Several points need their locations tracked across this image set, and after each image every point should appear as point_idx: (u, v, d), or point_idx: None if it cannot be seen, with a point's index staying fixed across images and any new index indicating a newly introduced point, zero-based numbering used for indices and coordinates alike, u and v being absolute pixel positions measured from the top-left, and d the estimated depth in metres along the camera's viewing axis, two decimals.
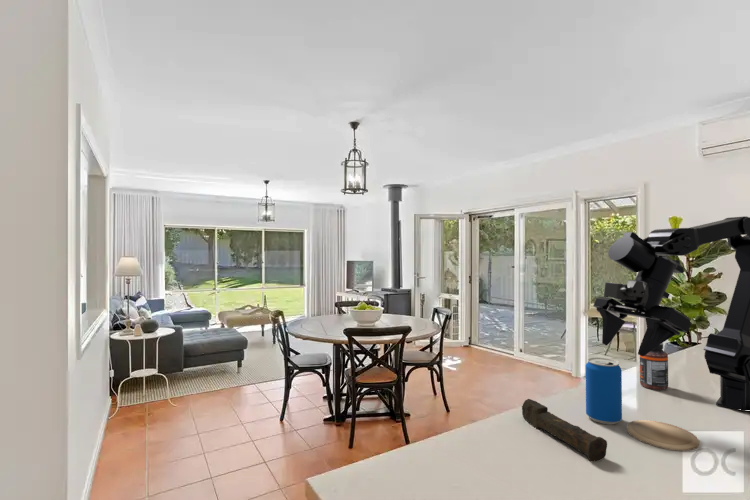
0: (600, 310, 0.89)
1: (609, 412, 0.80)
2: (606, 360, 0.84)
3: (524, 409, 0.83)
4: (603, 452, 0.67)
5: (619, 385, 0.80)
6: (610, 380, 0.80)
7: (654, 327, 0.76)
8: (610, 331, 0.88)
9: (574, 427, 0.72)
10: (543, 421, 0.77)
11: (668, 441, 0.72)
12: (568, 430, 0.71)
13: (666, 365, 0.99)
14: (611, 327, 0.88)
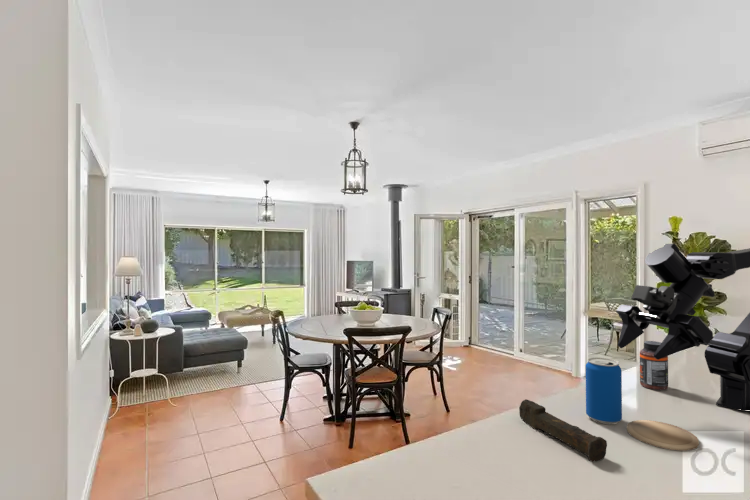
0: (622, 315, 0.91)
1: (609, 412, 0.80)
2: (606, 360, 0.84)
3: (521, 410, 0.82)
4: (603, 452, 0.67)
5: (619, 385, 0.80)
6: (610, 380, 0.80)
7: (676, 332, 0.78)
8: (628, 336, 0.89)
9: (573, 427, 0.71)
10: (541, 422, 0.77)
11: (668, 441, 0.72)
12: (567, 430, 0.71)
13: (666, 365, 0.99)
14: (629, 333, 0.89)
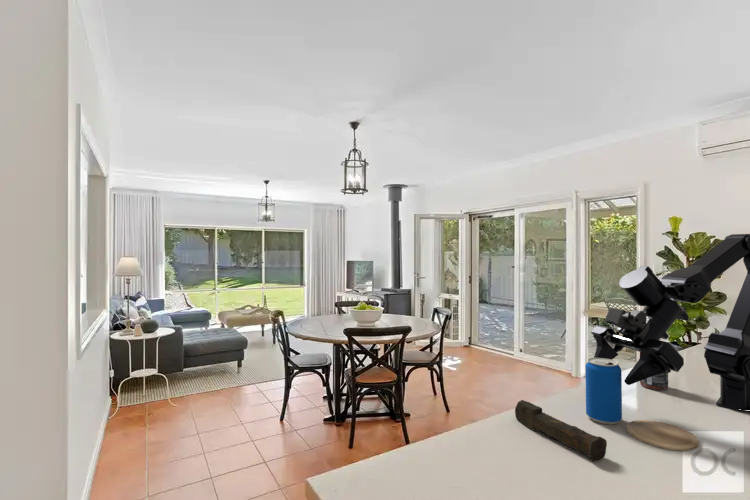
0: (597, 336, 0.90)
1: (609, 412, 0.80)
2: (606, 360, 0.84)
3: (518, 411, 0.82)
4: (604, 451, 0.67)
5: (619, 385, 0.80)
6: (610, 380, 0.80)
7: (647, 358, 0.77)
8: None
9: (572, 427, 0.71)
10: (539, 423, 0.76)
11: (668, 441, 0.72)
12: (567, 431, 0.71)
13: None
14: (603, 355, 0.88)
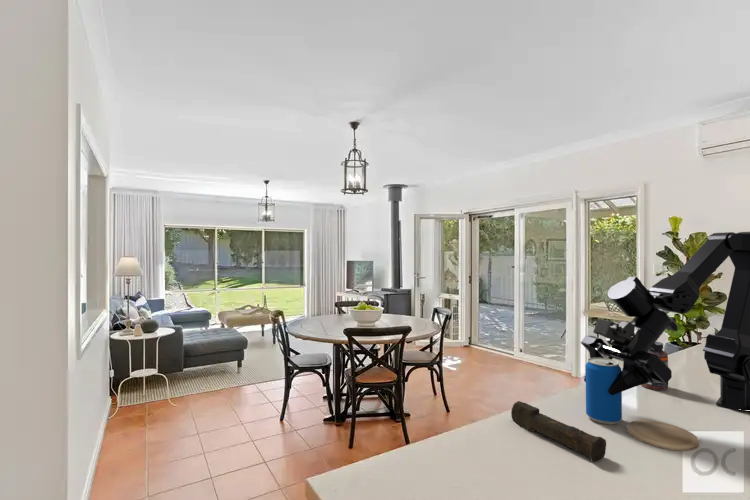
0: (590, 348, 0.88)
1: (609, 412, 0.80)
2: (606, 360, 0.84)
3: (514, 412, 0.81)
4: (604, 451, 0.67)
5: None
6: (610, 380, 0.80)
7: (630, 369, 0.78)
8: None
9: (571, 428, 0.71)
10: (537, 424, 0.76)
11: (668, 441, 0.72)
12: (566, 431, 0.71)
13: None
14: None
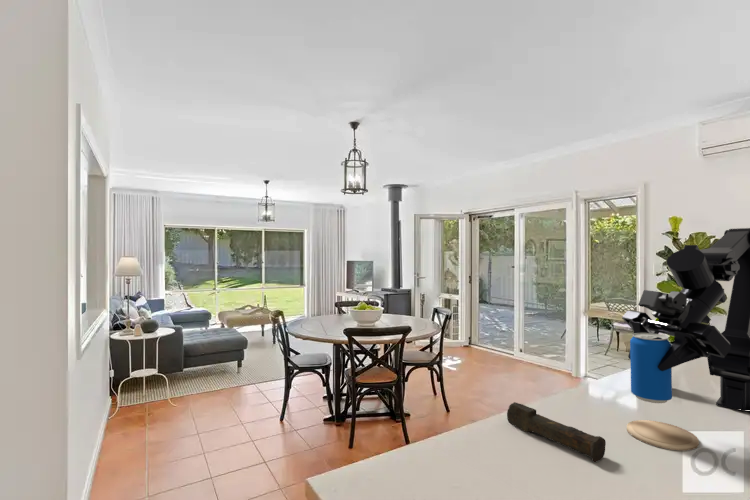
0: (634, 323, 0.82)
1: (659, 390, 0.73)
2: (653, 335, 0.78)
3: (511, 413, 0.81)
4: (603, 451, 0.67)
5: None
6: (659, 355, 0.73)
7: (682, 342, 0.71)
8: None
9: (571, 428, 0.71)
10: (535, 425, 0.76)
11: (668, 441, 0.72)
12: (566, 432, 0.71)
13: None
14: None
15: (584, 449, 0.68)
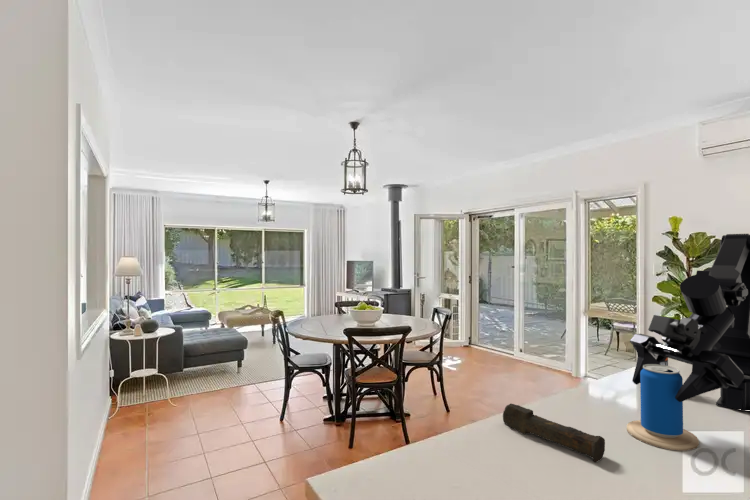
0: (637, 346, 0.82)
1: (670, 425, 0.72)
2: (663, 367, 0.77)
3: (507, 415, 0.80)
4: (603, 450, 0.67)
5: None
6: (671, 389, 0.72)
7: (701, 372, 0.69)
8: None
9: (570, 429, 0.71)
10: (533, 426, 0.75)
11: (668, 441, 0.72)
12: (565, 432, 0.70)
13: (666, 365, 0.99)
14: None
15: (585, 449, 0.68)
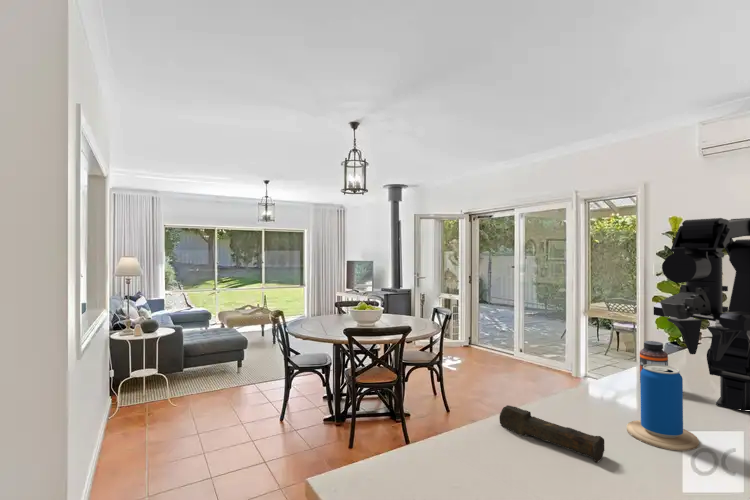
0: (672, 321, 0.85)
1: (670, 425, 0.72)
2: (663, 367, 0.77)
3: (504, 417, 0.79)
4: (603, 450, 0.68)
5: (681, 395, 0.73)
6: (671, 389, 0.72)
7: (719, 334, 0.76)
8: (692, 338, 0.84)
9: (569, 429, 0.71)
10: (532, 428, 0.75)
11: (668, 441, 0.72)
12: (565, 433, 0.70)
13: (666, 365, 0.99)
14: (691, 334, 0.84)
15: (585, 450, 0.67)
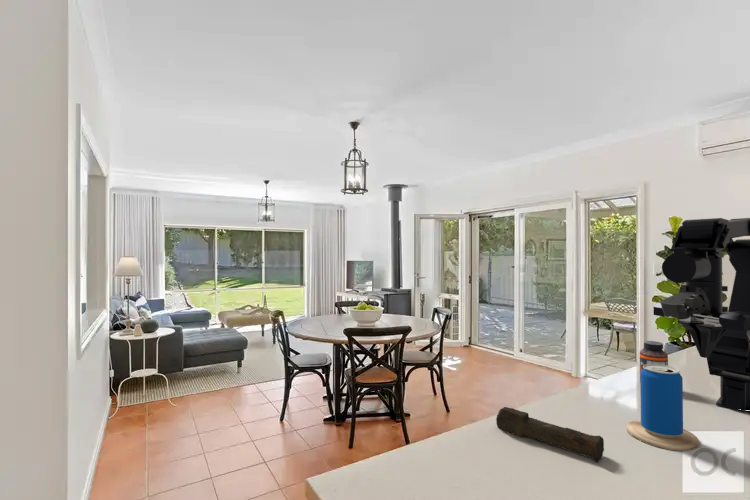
0: (682, 323, 0.83)
1: (670, 425, 0.72)
2: (663, 367, 0.77)
3: (502, 419, 0.78)
4: (603, 450, 0.68)
5: (681, 395, 0.73)
6: (671, 389, 0.72)
7: (707, 332, 0.79)
8: None
9: (568, 430, 0.71)
10: (530, 429, 0.74)
11: (668, 441, 0.72)
12: (565, 434, 0.70)
13: (666, 365, 0.99)
14: None
15: (586, 450, 0.67)
